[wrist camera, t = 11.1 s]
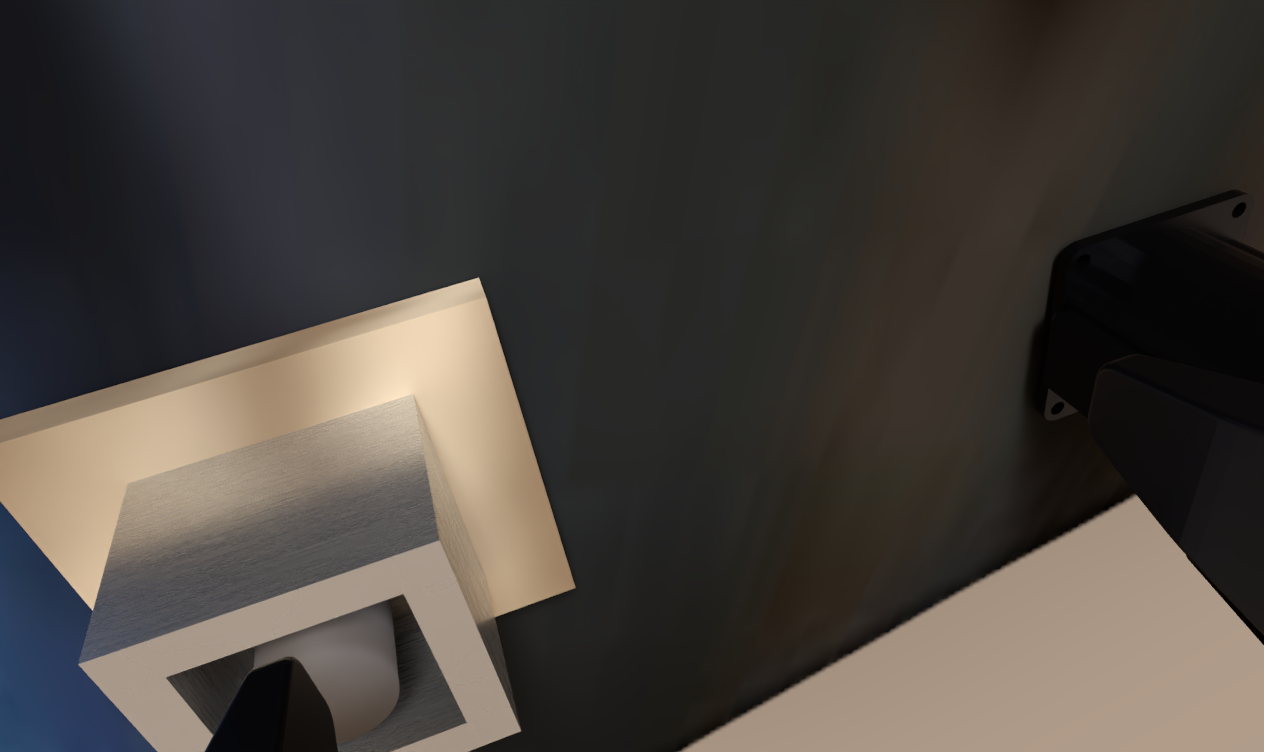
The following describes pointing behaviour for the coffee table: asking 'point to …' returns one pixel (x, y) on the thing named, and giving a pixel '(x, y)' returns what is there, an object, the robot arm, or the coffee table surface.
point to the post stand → (286, 402)
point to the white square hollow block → (300, 583)
